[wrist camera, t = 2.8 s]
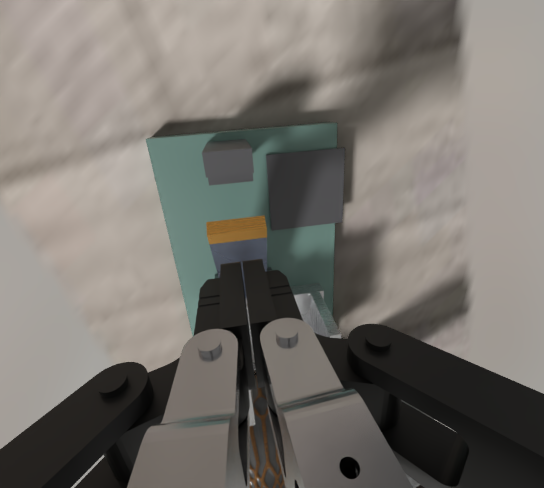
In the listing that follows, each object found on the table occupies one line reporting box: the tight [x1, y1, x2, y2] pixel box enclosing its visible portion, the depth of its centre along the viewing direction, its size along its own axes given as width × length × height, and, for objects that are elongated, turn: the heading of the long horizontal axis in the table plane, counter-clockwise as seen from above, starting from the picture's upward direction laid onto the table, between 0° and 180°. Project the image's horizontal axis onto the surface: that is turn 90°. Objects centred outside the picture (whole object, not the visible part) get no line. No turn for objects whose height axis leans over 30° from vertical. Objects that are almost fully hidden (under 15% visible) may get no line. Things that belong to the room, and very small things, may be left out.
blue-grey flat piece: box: [206, 216, 267, 306], centre depth 15 cm, size 7×3×1 cm, turn 5°
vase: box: [250, 375, 286, 488], centre depth 21 cm, size 7×7×9 cm
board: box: [146, 122, 345, 336], centre depth 19 cm, size 16×10×1 cm, turn 4°
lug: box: [202, 139, 254, 186], centre depth 14 cm, size 2×2×4 cm
